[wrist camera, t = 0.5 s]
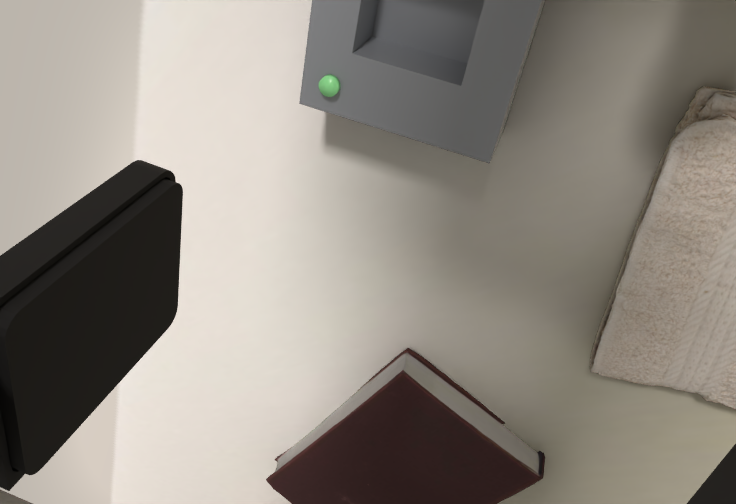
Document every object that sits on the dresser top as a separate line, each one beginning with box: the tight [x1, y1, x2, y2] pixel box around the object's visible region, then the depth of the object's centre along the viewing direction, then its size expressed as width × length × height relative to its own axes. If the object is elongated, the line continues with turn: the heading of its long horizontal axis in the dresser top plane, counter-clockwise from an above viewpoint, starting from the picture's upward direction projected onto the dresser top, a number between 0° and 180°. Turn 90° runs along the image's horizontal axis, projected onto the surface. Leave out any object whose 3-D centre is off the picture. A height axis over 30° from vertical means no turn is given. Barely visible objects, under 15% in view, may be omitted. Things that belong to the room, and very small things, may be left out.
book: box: [266, 348, 545, 504], centre depth 52 cm, size 12×19×3 cm, turn 144°
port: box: [299, 0, 545, 163], centre depth 32 cm, size 12×10×4 cm
